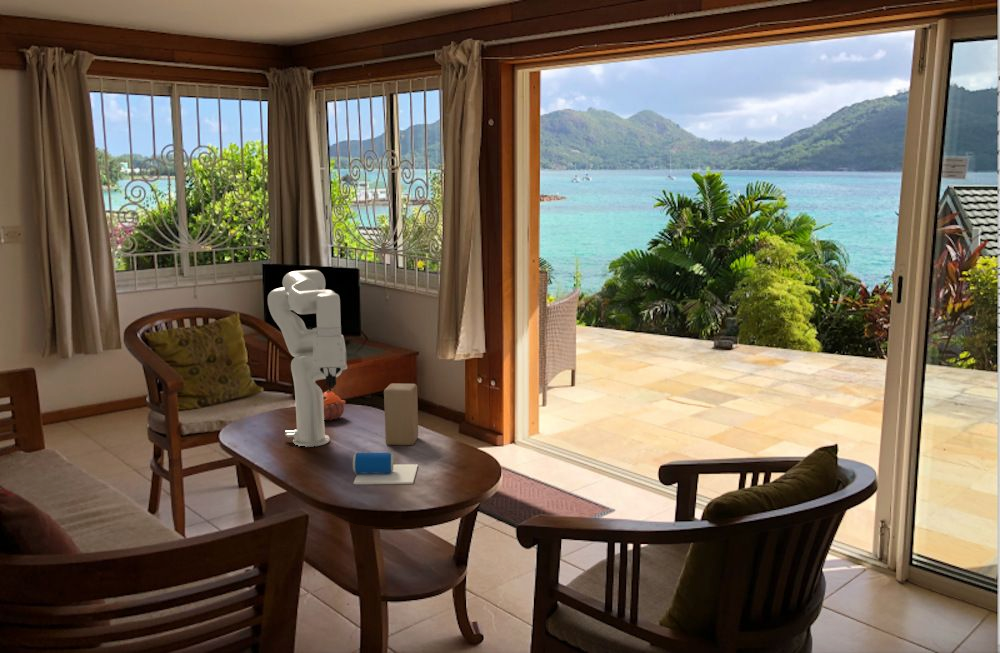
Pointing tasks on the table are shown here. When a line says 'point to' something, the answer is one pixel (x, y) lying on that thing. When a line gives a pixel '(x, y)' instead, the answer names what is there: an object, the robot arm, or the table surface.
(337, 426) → the table surface
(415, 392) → the wooden block
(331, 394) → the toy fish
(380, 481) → the mat
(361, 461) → the beverage can
